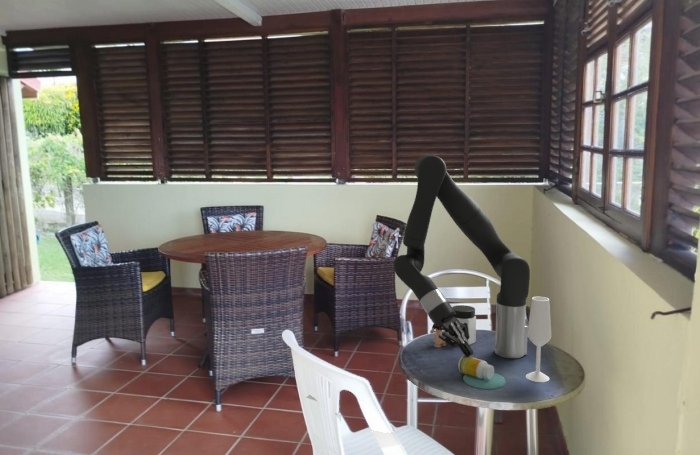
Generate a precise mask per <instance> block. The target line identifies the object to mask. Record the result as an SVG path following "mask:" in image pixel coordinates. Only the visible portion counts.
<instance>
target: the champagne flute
mask: <svg viewBox="0 0 700 455" xmlns="http://www.w3.org/2000/svg"><path fill="white" fill-rule="evenodd" d="M550 306H551V305H550V298H548V297H545V296H533V297H531V304H530V310H529V311H530V312H529V318H528V325H527V327H528V331H527V339H529V341H530V342H531V343H532V344H533V345H534V346H536V352H535V353H536V354H535V357H536V358H535V370H534V371H532V372H529V373H527V374H526V375H525V378H526V379H527V380H529V381H532V382H536V383H545V382H549V381H550V377H549V376H548V375H546V374H545V373H543V372H541V353H542V351H541V350H542V347H543V346H544V345H546V344H547V343H549V341H550V340H551V338H552V325H551V324H552V322H551V308H550Z"/></svg>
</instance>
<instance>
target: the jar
mask: <svg viewBox="0 0 700 455" xmlns="http://www.w3.org/2000/svg"><path fill="white" fill-rule="evenodd" d="M452 308H453V309H454V311H455V317H456V318H457V319H458V320H459V321H460V323H462V324H464V323H467V325H468V331H469V339H468V340H467V343H468V344H469V346H471V345H472V344H475V343H476V338H477V335H476V334H477V316H476V308H475V307H473V306H472V305H466V304H465V305H464V304H463V305H462V304H461V305H460V304H459V305H454V306H452Z"/></svg>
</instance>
